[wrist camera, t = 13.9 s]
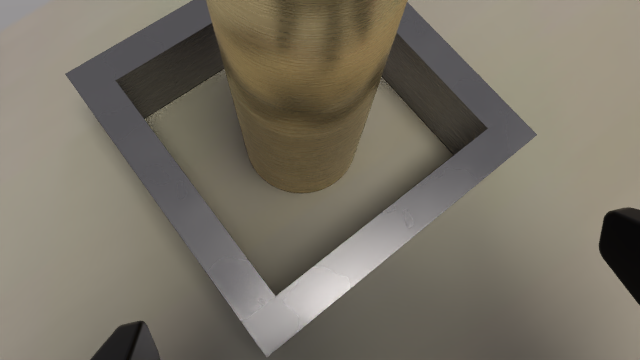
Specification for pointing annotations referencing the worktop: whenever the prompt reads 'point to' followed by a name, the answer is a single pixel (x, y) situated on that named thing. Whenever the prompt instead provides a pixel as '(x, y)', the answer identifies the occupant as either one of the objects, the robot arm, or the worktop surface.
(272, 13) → the beige tall cylinder
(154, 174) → the collar
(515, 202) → the worktop surface
